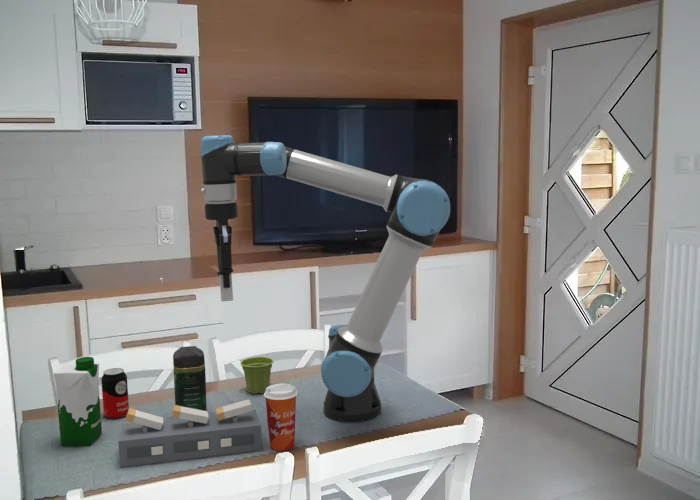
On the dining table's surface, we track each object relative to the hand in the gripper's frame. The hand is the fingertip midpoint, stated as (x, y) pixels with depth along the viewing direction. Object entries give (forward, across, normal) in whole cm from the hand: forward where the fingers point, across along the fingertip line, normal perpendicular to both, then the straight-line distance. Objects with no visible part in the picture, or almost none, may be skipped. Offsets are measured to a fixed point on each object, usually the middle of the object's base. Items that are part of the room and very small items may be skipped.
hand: (227, 300), depth 165 cm
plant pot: (+33, -26, +10) cm, 43 cm away
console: (+33, +8, -11) cm, 35 cm away
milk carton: (+32, -6, -36) cm, 49 cm away
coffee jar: (+33, -11, -10) cm, 36 cm away
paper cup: (+33, +13, +9) cm, 37 cm away
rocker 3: (+24, +8, -1) cm, 26 cm away
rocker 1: (+24, +8, -21) cm, 33 cm away
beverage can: (+32, -20, -29) cm, 47 cm away
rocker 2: (+24, +8, -11) cm, 28 cm away
